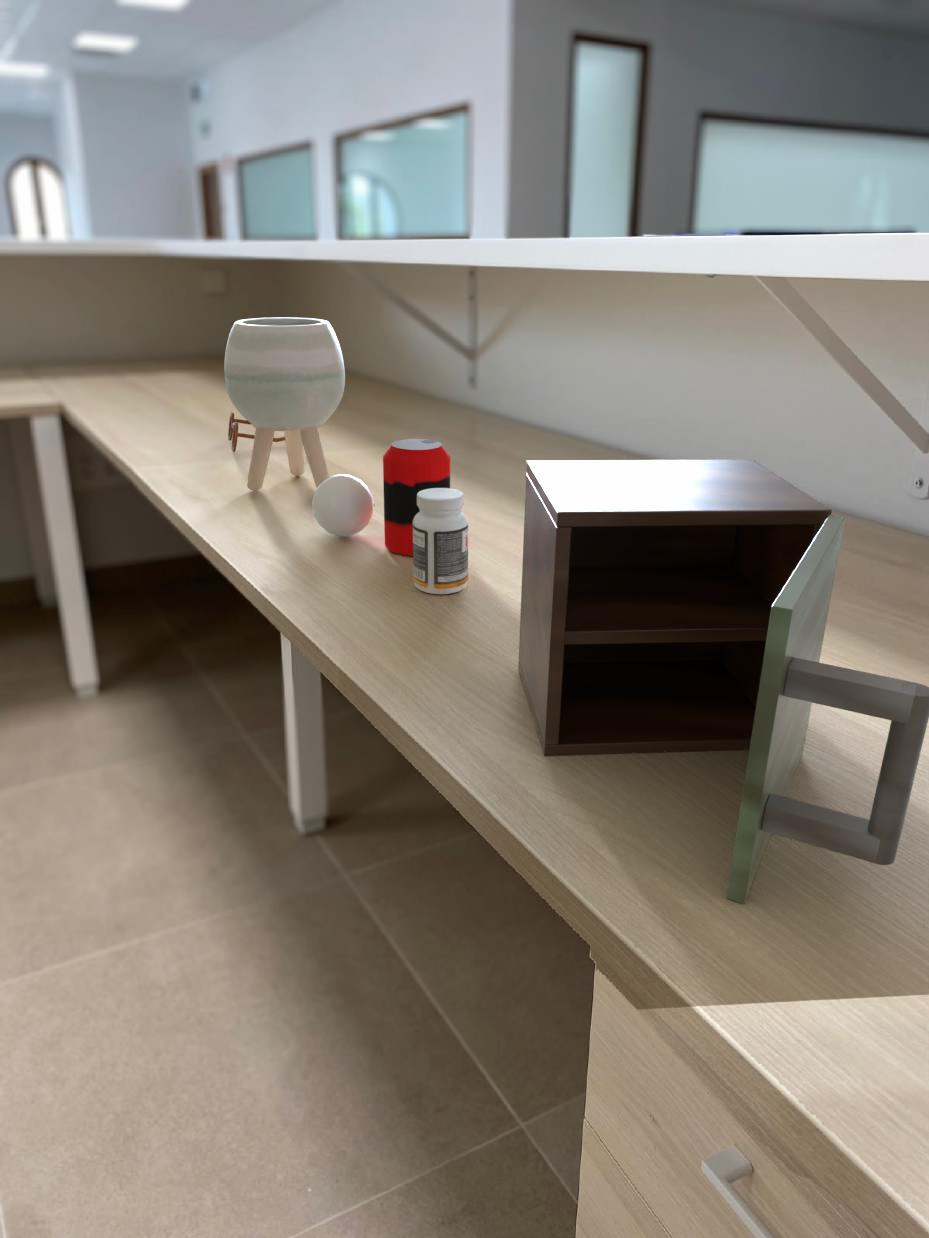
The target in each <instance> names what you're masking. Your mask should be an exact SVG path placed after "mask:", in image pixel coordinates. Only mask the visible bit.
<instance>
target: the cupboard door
mask: <svg viewBox="0 0 929 1238" xmlns="http://www.w3.org/2000/svg"><path fill="white" fill-rule="evenodd" d="M845 522H846V516H842V515H836V514H831V515H829V516H828V518H827V519H826V521H825V522H824V524H823V526H822V527H821V529H820V530H819V532H818V534H817V535H816V537H815V538H814V540H813V542H812V543H811V545H810V546H809V548H808V549H807V551H806V553H805V554H804V556H803V557H802V559H801V561H800V562H799V564H798V565H797V567H796V569H795V570H794V572H793V573H792V575H791V576H790V578H789V580H788V581H787V583H786V584H785V586H784V588H783V589H782V591H781V592H780V594H779V596H778V597H777V599H776V600H775V602H774V603H773V605H772V607H771V613H770V620H769V626H768V633H767V639H766V646H765V652H764V658H763V665H762V671H761V678H760V684H759V691H758V697H757V704H756V710H755V716H754V723H753V729H752V736H751V742H750V749H749V750H748V754H747V755H748V756H747V761H746V762H747V763H746V768H745V774H744V782H743V790H742V793H741V794H742V795H741V800H740V807H739V814H738V820H737V826H736V827H737V828H736V833H735V840H734V847H733V852H732V859H731V866H730V871H729V878H728V885H727V891H726V899H728V900H730V901H733V902H737V903H738V904H739V903H740V904H742V905H744V904H745V903H746V900H747V897H748V895H749V893H750V891H751V887H752V885H753V883H754V881H755V877H756V874H757V873H758V870H759V867H760V864H761V862H762V859H763V857H764V854H765V852H766V849H767V846H768V844H769V842H770V840H771V836H772V835H776V836H779V837H782V838H786V839H789V840H793V841H796V842H800V843H803V844H806V845H810V846H812V847H816V848H819V849H824V850H827V851H831V852H834V853H837V854H841V855H845V856H847V857H851V858H854V859H858V860H861V861H864V862H869V863H870V864H871V863H872V864H875V865H879V866H890V865H892V864H893V863H894V862H895V861H896V857H897V852H898V849H899V845H900V839H901V836H902V831H903V828H904V824H905V823H904V822H905V819H906V816H907V815H906V814H907V810H908V806H909V802H910V798H911V794H912V790H913V786H914V782H915V777H916V773H917V769H918V765H919V761H920V757H921V753H922V747H923V743H924V739H925V735H926V732H927V727H928V724H929V723H928V722H929V686H927V685H925V684H922V683H918V682H915V681H910V680H906V679H901V678H900V679H899V678H895V677H890V676H886V675H882V674H881V675H880V674H876V673H871V672H867V671H861V670H857V669H853V668H847V667H842V666H838V665H833V664H827V663H823V662H820V659H821V655H822V649H823V645H824V644H823V643H824V638H825V633H826V626H827V621H828V615H829V610H830V606H831V605H830V604H831V600H832V593H833V590H834V589H833V588H834V583H835V578H836V573H837V567H838V560H839V555H840V549H841V545H842V539H843V533H844V528H845ZM812 704H817V705H821V706H826V707H830V708H835V709H839V710H844V711H848V712H852V713H857V714H861V715H864V716H870V717H874V718H879V719H884V720H888V721H890V724H889V730H888V734H887V738H886V743H885V748H884V752H883V755H882V756H883V757H882V760H881V765H880V770H879V775H878V779H877V784H876V789H875V792H874V793H875V794H874V797H873V800H872V806H871V810H870V815H869V819H868V818H864V817H860V816H857V815H853V814H849V813H847V812H842V811H838V810H835V809H831V808H828V807H823V806H820V805H816V804H812V803H809V802H805V801H802V800H798V799H794V798H790V797H787V796H788V793H789V790H790V788H791V786H792V783H793V780H794V778H795V775H796V773H797V770H798V767H799V765H800V763H801V759H802V757H803V755H804V749H805V743H806V738H807V731H808V726H809V722H810V721H809V720H810V714H811V711H812V710H811V709H812Z"/></svg>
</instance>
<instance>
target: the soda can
mask: <svg viewBox="0 0 929 1238" xmlns="http://www.w3.org/2000/svg"><path fill="white" fill-rule="evenodd" d="M382 476H383V483H382V484H383V523H384V524H383V525H384V526H383V527H384V528H383V529H384V530H383V531H384V533H383V534H384V546H385V548H387V550H389V552H392V553H393V554H397V555H400V556H407V557H413V519H414V517H415V515H416V514H417V513H419V512H420V509H419V508H418V506H417V493H418V492H419V491H422V490H425V489H430V488H450V489H451V455H450V453H449V452H448V451H447V450H446V448H445V447H444V446H443V444H442V442H441V441H438V440H435V439H427V438H405V439H399V440H395V441H393V442H391V444H390V446H389V447H388V449H387V450H386V451H385V452H384V454H383V456H382Z"/></svg>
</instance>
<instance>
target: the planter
mask: <svg viewBox="0 0 929 1238" xmlns="http://www.w3.org/2000/svg"><path fill="white" fill-rule="evenodd" d="M224 352H225V354H224V364H223V370H224V382H225V387H226V392H227V395H228V397H229V400H230V401H231V403H232V406H234V408H235V409H236V410H237V412H238V413H239V414H240V415H241V416H242V417H243V418H244V420H247V421H249V422H250V423H251V424H252V425H251V426H252V427H254V428H255V430H254V431H255V432H254V435H255V437H254V439H253V444H252V450H251V451H252V452H251V456H250V457H251V458H250V463H249V469H248V475H247V481H246V482H247V484H246V486H247V489H249V490H250V491H256V492H257V491H259V490H261V489H262V488H263V485H264V482H265V476H266V473H267V469H268V464H269V460H270V456H271V451H272V446H273V438H275V432H284V437H285V440H284V441H285V446H286V447H285V449H286V453H287V460H288V467H289V472H290V474H291V475H292V476H295V477H299V476H302V475H304V474H305V456H306V460H307V463H308V465H309V469H310V473H311V475H312V479H313V482H314V484H315V487H316V489H317V488H318V486H319V485H320V484H321V483H322V482H323V481H324V480H326V479H328V478H330V477H331V476H330V474H329V470H328V466H327V461H326V457H325V453H324V449H323V445H322V441H321V436H320V431H319V428H320V427H323V426H324V425H325V424H326V423H325V422H327V421H328V419H330V418H331V417H332V415H333V414H334V413H335V411H336V410H337V408H338V407H339V405H340V403H341V401H342V399H343V396H344V392H345V385H346V370H345V361H344V356H343V353H342V348H341V345H340V342H339V340H338V337H337V335H336V332H335V330H334V328H333V326H332V325H331V323H330V322H329V321H328V320H325V319H320V318H312V317H311V318H310V317H291V316H290V317H288V316H287V317H284V316H283V317H282V316H278V317H276V316H275V317H256V318H246V319H245V318H244V319H238V320H236V321H235V322H234V323H233V325H232V327H231V329H230V332H229V334H228V338H227V342H226V347H225V351H224ZM304 452H305V454H304ZM304 455H305V456H304Z"/></svg>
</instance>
